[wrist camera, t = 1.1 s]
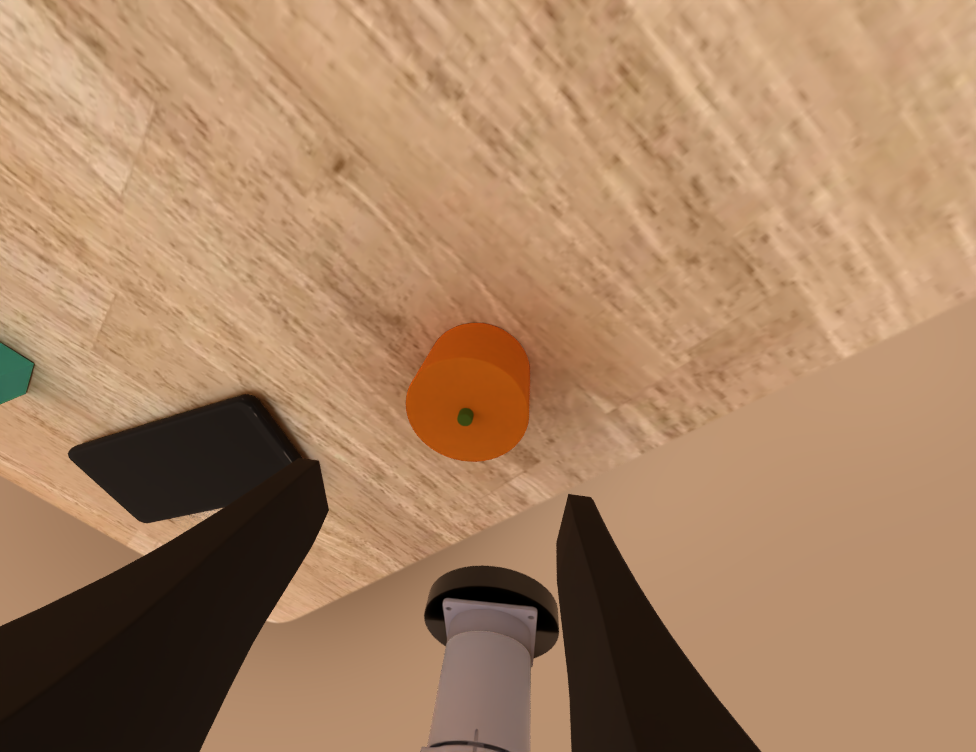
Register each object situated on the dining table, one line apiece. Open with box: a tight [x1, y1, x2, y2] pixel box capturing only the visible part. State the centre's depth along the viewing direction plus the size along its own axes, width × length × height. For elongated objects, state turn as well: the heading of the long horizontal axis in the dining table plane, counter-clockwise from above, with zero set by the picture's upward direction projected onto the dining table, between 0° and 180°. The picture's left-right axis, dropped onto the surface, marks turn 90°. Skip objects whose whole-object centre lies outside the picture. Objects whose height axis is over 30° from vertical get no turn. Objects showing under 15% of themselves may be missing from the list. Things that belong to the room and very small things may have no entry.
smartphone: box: [68, 394, 303, 523], centre depth 23 cm, size 7×1×15 cm
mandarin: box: [406, 323, 530, 462], centre depth 16 cm, size 5×5×4 cm
